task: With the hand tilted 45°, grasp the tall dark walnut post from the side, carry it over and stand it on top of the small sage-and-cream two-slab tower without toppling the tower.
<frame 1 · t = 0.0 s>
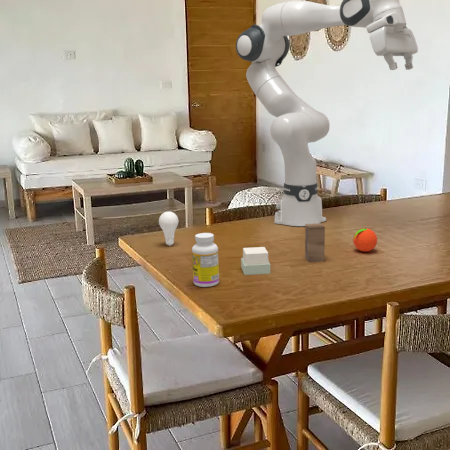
hand: (402, 69, 175), 52 cm above the table, tool tilted 20°, fingers open, 8 cm apart
walnut post: (314, 259, 169), on the table
supplement bottle: (206, 284, 152), on the table
tower cap: (255, 261, 161), point 3 cm above the table, touching tower base
tower base: (255, 271, 161), on the table, touching tower cap
clementine: (363, 252, 176), on the table
lightbulb: (169, 246, 188), on the table
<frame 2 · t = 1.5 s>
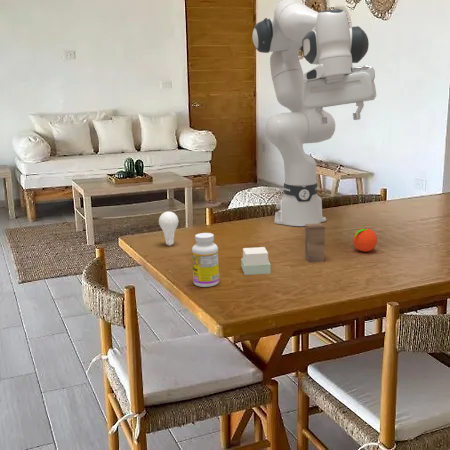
hand: (340, 121, 162), 38 cm above the table, tool pointing down, fingers open, 8 cm apart
nothing on the table moved.
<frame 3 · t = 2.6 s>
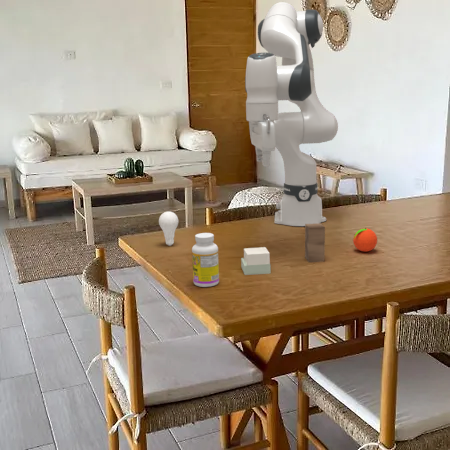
hand: (263, 164, 166), 27 cm above the table, tool pointing down, fingers open, 8 cm apart
nothing on the table moved.
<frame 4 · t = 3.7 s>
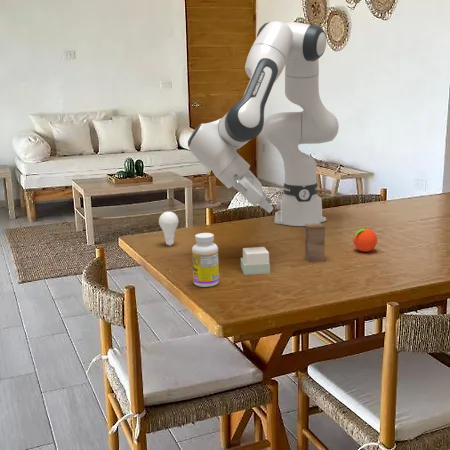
hand: (270, 207, 166), 16 cm above the table, tool tilted 45°, fingers open, 8 cm apart
nothing on the table moved.
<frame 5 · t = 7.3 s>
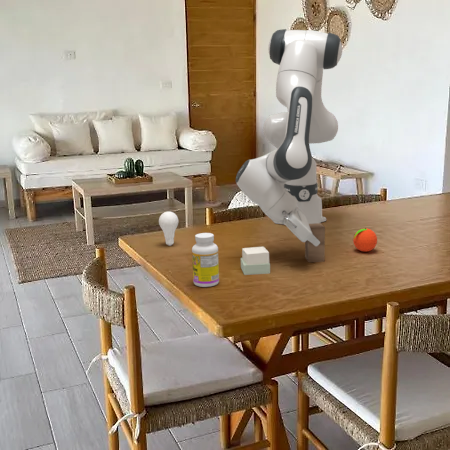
hand: (317, 241, 168), 5 cm above the table, tool tilted 45°, fingers closed on walnut post, 5 cm apart
walnut post: (314, 259, 169), on the table, touching gripper
everything else where it was.
when the fingers open (12 cm above the table, at t = 11.9 s): walnut post drops 1 cm, resting on tower cap.
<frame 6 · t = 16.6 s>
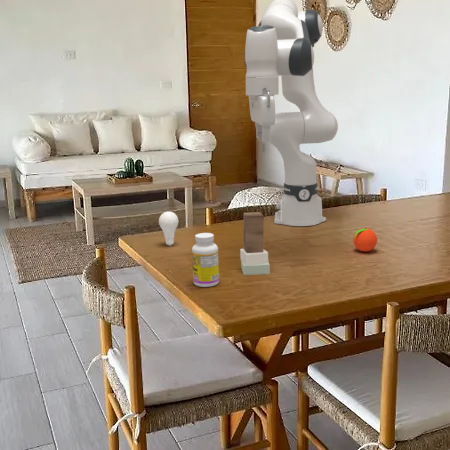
hand: (262, 140, 163), 34 cm above the table, tool pointing down, fingers open, 8 cm apart
walnut post: (253, 250, 160), point 6 cm above the table, touching tower cap
tower cap: (254, 261, 161), point 2 cm above the table, touching tower base, walnut post
everything else where it was.
at the end: walnut post 0.5 cm off-centre on the tower base, point 6.1 cm above the tower base's base; walnut post tilted 1°; tower cap 0.2 cm off-centre on the tower base, point 3.0 cm above the tower base's base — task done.
